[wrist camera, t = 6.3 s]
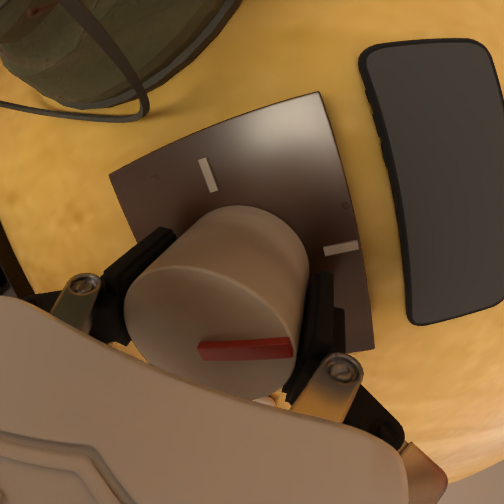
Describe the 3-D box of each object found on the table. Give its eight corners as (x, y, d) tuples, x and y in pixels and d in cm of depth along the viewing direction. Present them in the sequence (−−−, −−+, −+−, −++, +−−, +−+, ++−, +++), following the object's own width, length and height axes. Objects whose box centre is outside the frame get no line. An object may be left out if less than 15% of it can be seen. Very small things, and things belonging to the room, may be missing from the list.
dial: (210, 321, 15) (167, 402, 10) (166, 221, 12) (90, 284, 8) (320, 310, 13) (310, 409, 8) (290, 190, 11) (261, 254, 6)
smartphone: (406, 332, 15) (350, 47, 9) (403, 322, 15) (348, 51, 10) (507, 303, 12) (487, 37, 6) (502, 295, 13) (479, 40, 7)
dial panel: (370, 313, 16) (375, 351, 13) (218, 333, 19) (201, 366, 16) (319, 96, 11) (319, 90, 9) (141, 162, 15) (105, 175, 12)
